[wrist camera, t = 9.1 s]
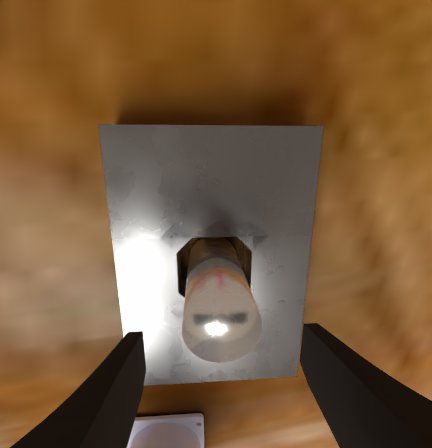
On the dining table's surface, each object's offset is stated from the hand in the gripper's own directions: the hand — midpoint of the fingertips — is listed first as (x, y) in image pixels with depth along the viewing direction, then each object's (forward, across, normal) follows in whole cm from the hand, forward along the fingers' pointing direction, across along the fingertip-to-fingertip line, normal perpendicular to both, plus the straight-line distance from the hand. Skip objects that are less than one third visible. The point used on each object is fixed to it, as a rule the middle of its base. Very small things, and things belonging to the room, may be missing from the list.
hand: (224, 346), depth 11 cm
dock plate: (+10, 0, 0) cm, 10 cm away
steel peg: (+10, 0, 0) cm, 10 cm away
